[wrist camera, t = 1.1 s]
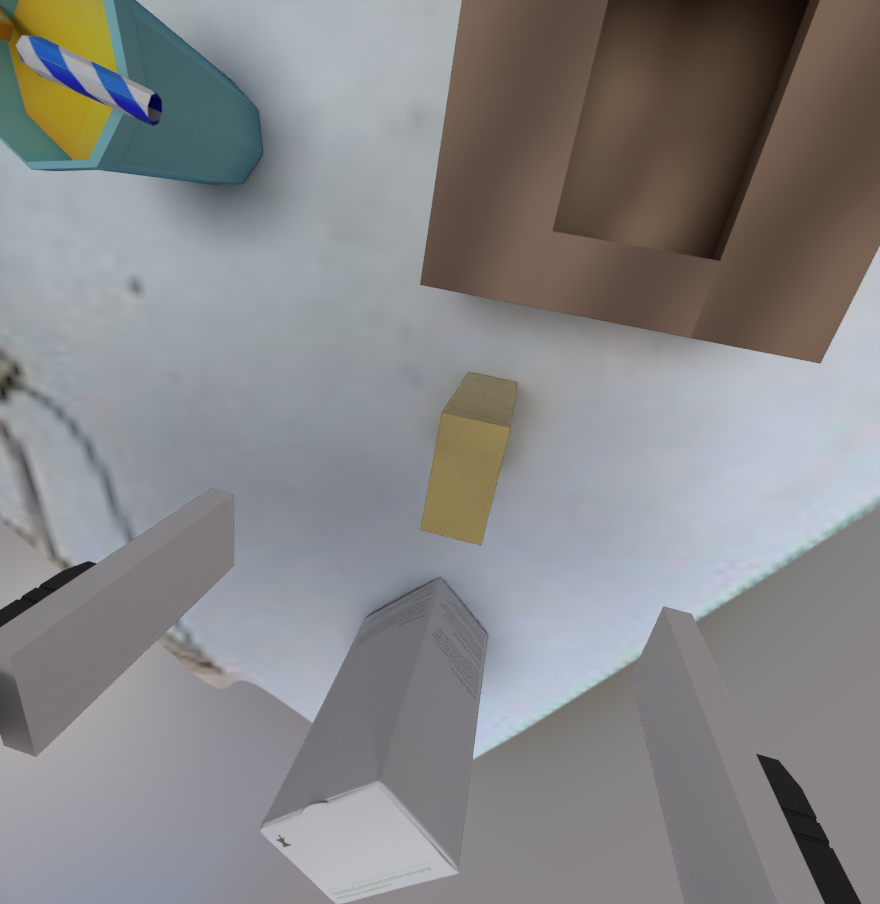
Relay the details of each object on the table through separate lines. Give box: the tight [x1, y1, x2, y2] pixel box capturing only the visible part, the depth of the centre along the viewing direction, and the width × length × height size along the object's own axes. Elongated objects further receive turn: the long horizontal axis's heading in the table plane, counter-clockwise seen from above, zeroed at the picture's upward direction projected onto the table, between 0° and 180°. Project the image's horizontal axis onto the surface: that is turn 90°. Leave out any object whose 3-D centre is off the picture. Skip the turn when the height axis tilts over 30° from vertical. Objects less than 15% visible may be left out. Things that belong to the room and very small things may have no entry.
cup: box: [0, 0, 263, 184], centre depth 19 cm, size 14×8×15 cm, turn 67°
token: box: [420, 372, 517, 545], centre depth 25 cm, size 3×6×9 cm, turn 170°
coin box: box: [420, 0, 880, 363], centre depth 18 cm, size 14×14×10 cm
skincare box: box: [260, 578, 488, 904], centre depth 28 cm, size 8×7×16 cm
